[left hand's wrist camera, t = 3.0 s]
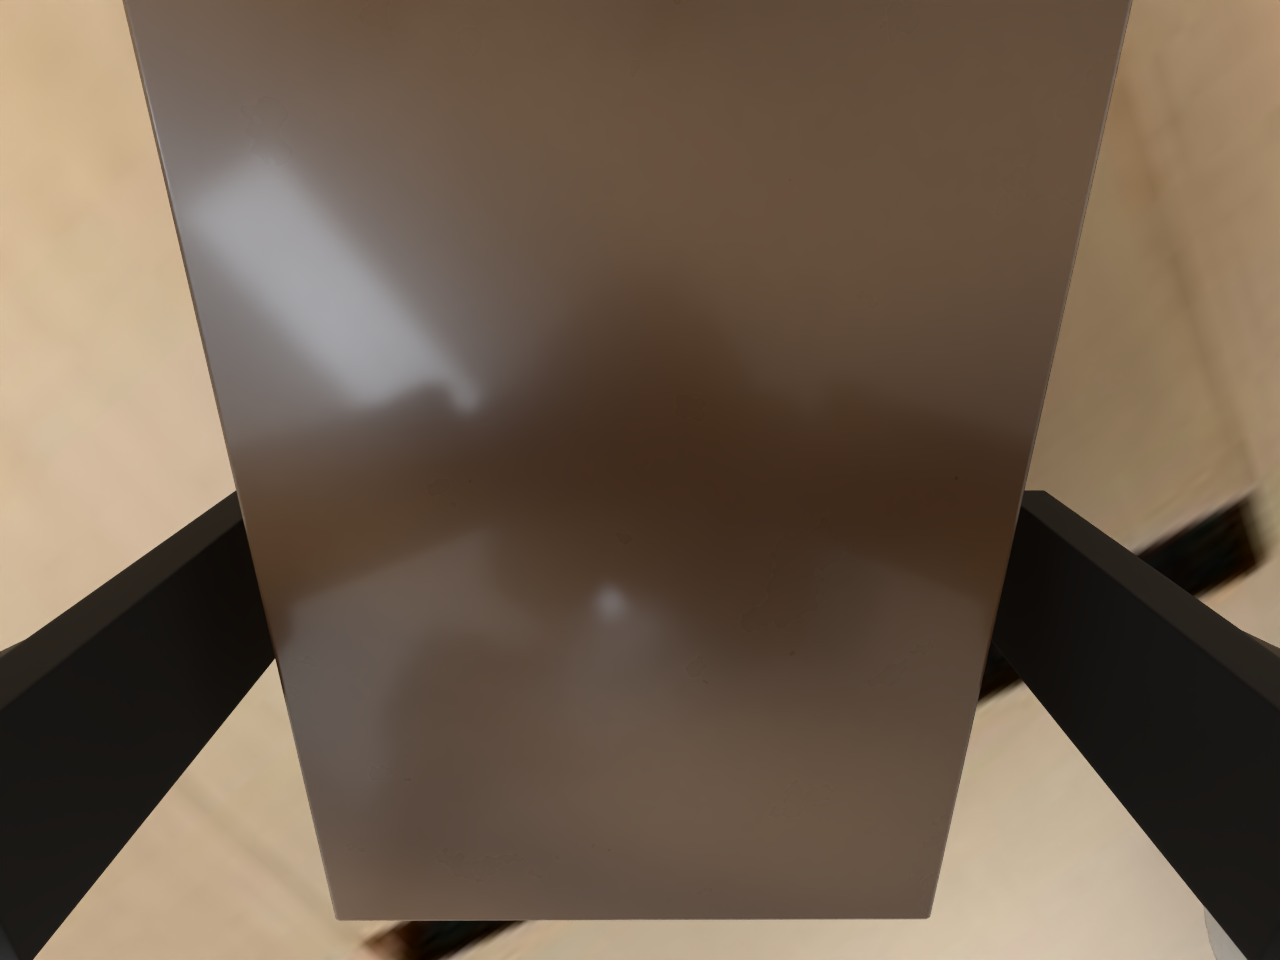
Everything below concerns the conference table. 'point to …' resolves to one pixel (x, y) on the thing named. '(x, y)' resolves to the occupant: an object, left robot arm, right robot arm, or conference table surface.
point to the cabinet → (629, 420)
